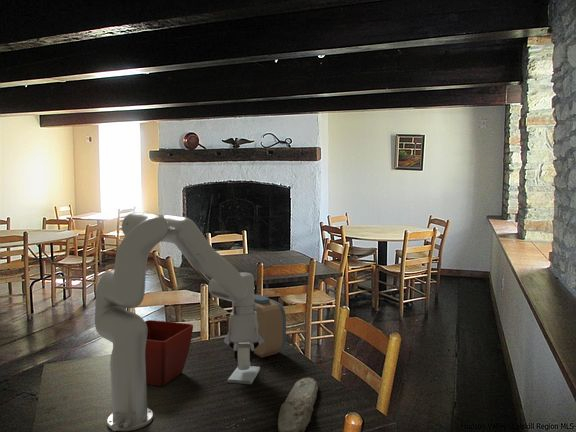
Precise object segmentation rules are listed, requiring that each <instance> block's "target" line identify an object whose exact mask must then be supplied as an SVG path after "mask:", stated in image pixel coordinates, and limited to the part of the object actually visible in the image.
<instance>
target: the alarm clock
mask: <svg viewBox="0 0 576 432" xmlns="http://www.w3.org/2000/svg"><path fill="white" fill-rule="evenodd" d="M254 303H255V305H256V306H259V310H255V311H256V312H257V316H258V324H259V332H260V334H261V335H262V337H263V338H264V342H263V343H261V344H260V345H258V347H257V348H256V349H254V355H255V356H258V357H260V358H265V357H269V356H272V355H276V354H278V353H279V351H280V350H281V351H282V350H283V349H284V348H285V346H286V342H287V318H286V317H287V315H286V310H285V309H284V306H283V304H281V303H280V302H278V301H276V300H275V299H271V298H268V297H267V296H265V295H261V294H257V293H256V294H255V293H254ZM258 340H259V338H258ZM254 343H255V342H254Z"/></svg>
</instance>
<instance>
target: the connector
mask: <svg viewBox="0 0 576 432" xmlns="http://www.w3.org/2000/svg"><path fill="white" fill-rule="evenodd" d="M250 348H251V347H250V343H249V342H238V348H237V350H238V362H237V367H238V369H239V370H248V369H249V368H250V366H251V363H252V362H250Z"/></svg>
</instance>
